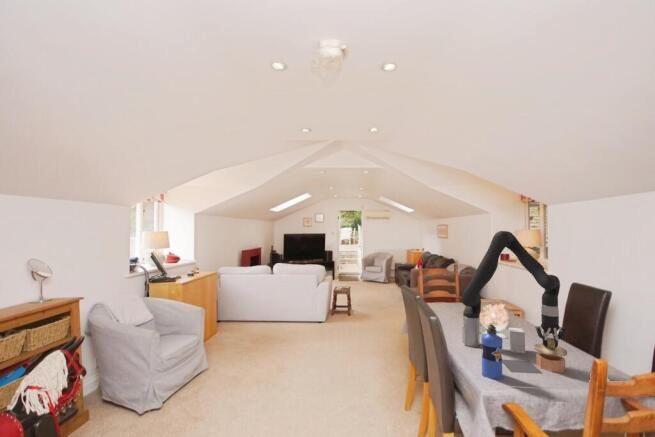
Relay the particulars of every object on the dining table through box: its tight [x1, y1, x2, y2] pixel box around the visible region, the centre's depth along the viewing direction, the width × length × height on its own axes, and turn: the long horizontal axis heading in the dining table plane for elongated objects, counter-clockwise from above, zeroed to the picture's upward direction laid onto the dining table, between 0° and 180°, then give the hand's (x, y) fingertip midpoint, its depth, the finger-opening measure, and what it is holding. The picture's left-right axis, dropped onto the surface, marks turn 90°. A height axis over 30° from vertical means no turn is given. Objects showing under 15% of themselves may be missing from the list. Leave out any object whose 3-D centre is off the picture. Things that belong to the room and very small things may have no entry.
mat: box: [502, 359, 544, 375], centre depth 172 cm, size 15×15×1 cm
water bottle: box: [480, 324, 503, 380], centre depth 163 cm, size 9×9×25 cm
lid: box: [534, 337, 568, 357], centre depth 171 cm, size 14×14×6 cm
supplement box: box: [508, 327, 526, 354], centre depth 193 cm, size 7×7×13 cm
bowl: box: [535, 352, 566, 373], centre depth 171 cm, size 12×12×6 cm
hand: (550, 346), depth 171 cm, fingers closed on lid, 4 cm apart
